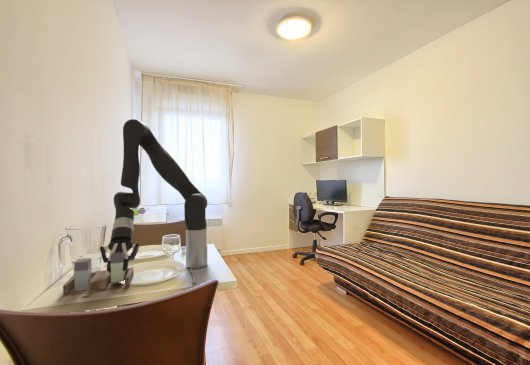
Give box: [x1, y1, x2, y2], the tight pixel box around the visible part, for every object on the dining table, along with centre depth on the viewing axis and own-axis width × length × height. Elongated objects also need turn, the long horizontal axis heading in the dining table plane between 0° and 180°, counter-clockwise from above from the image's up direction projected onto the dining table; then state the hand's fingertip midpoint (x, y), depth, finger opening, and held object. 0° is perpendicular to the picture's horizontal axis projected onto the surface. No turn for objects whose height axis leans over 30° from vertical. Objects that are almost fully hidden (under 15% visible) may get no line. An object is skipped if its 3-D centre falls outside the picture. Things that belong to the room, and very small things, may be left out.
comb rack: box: [62, 267, 134, 297], centre depth 93 cm, size 20×11×4 cm, turn 110°
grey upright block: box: [109, 251, 125, 283], centre depth 94 cm, size 4×4×10 cm
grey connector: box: [73, 257, 92, 291], centre depth 91 cm, size 4×4×10 cm
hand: (117, 270), depth 93 cm, fingers closed on grey upright block, 4 cm apart
